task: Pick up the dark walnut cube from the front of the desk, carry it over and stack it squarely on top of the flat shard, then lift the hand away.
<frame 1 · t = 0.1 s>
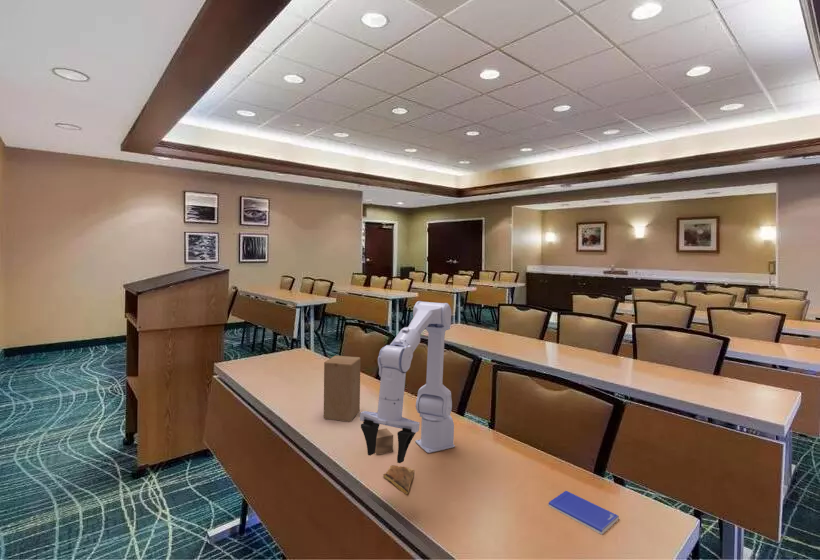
hand: (385, 458, 94), 11 cm above the table, tool pointing down, fingers open, 7 cm apart
wooden block: (342, 415, 145), on the table
walnut cube: (381, 449, 120), on the table
hard drive: (582, 515, 93), on the table
shard: (404, 482, 105), on the table
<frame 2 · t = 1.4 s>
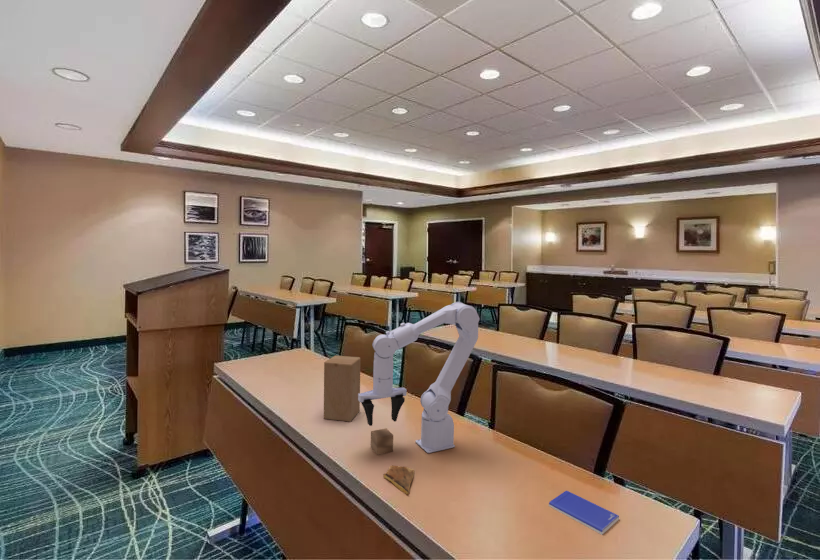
hand: (382, 422, 120), 8 cm above the table, tool pointing down, fingers open, 7 cm apart
nothing on the table moved.
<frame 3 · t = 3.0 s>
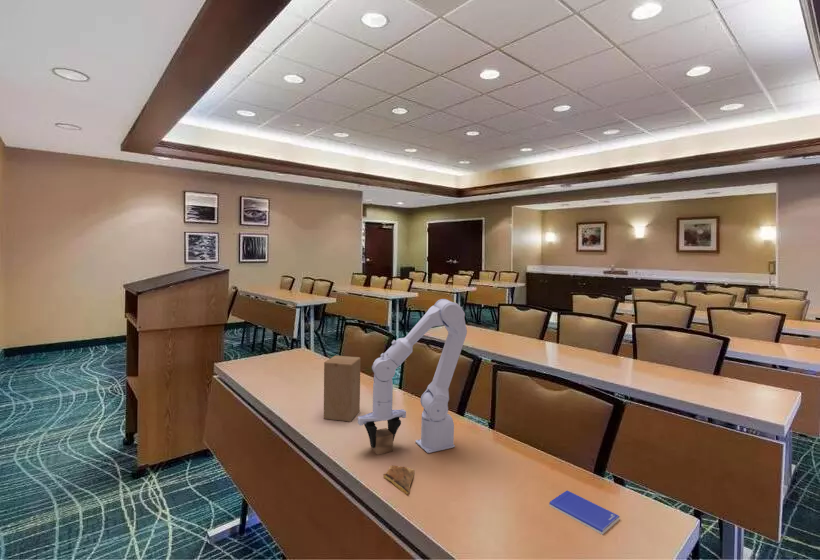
hand: (381, 444, 120), 1 cm above the table, tool pointing down, fingers closed on walnut cube, 5 cm apart
walnut cube: (381, 449, 120), on the table, touching gripper
everything else where it was.
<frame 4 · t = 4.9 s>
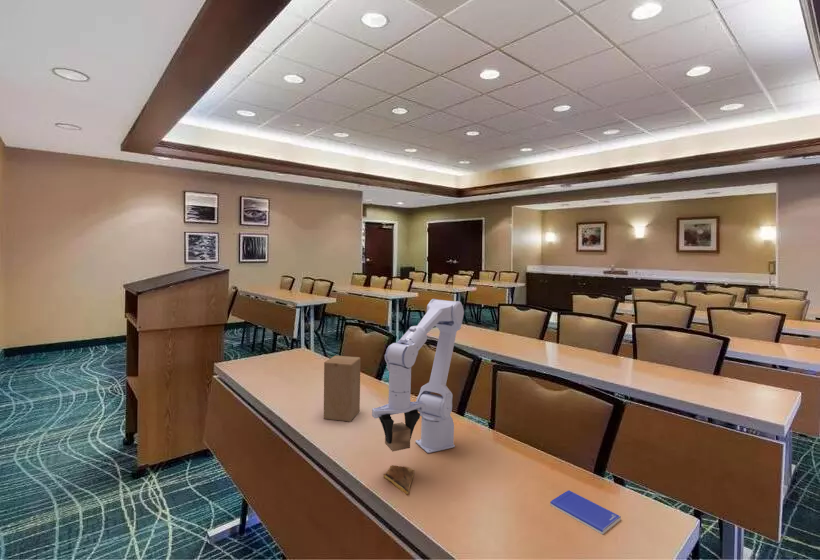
hand: (398, 440, 108), 8 cm above the table, tool pointing down, fingers closed on walnut cube, 5 cm apart
walnut cube: (397, 445, 108), point 7 cm above the table, touching gripper
everything else where it was.
when the fingers open (5 cm above the table, at t = 7.0 s): walnut cube drops 2 cm, resting on shard.
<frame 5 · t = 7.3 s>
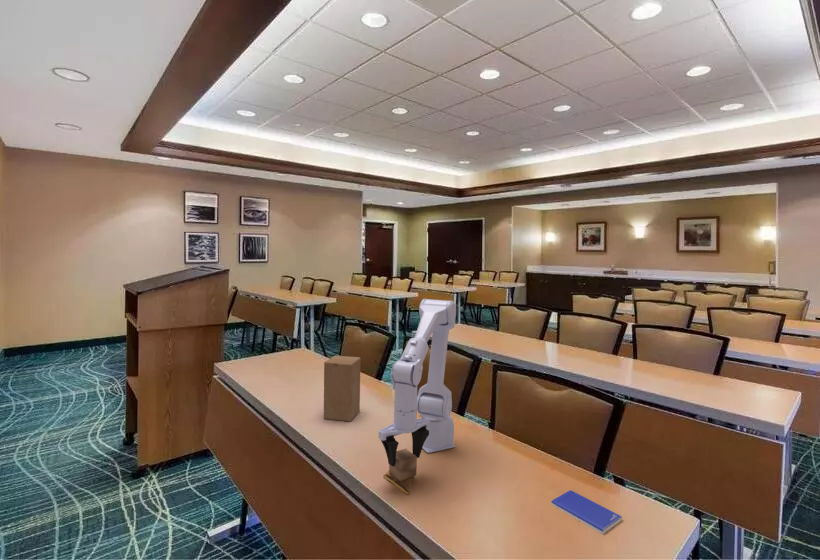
hand: (404, 460, 104), 5 cm above the table, tool pointing down, fingers open, 7 cm apart
walnut cube: (402, 473, 105), point 1 cm above the table, touching shard
shard: (405, 482, 105), on the table, touching walnut cube
everything else where it was.
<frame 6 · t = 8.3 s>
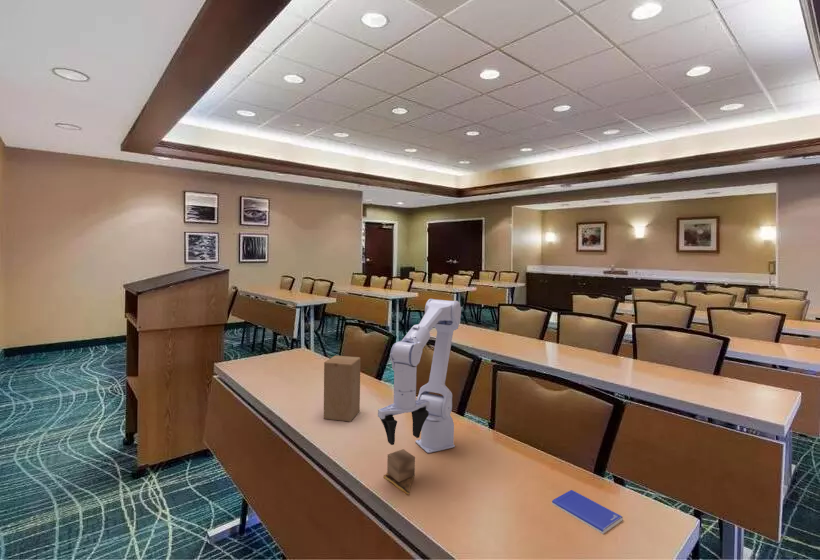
hand: (403, 439, 106), 9 cm above the table, tool pointing down, fingers open, 7 cm apart
nothing on the table moved.
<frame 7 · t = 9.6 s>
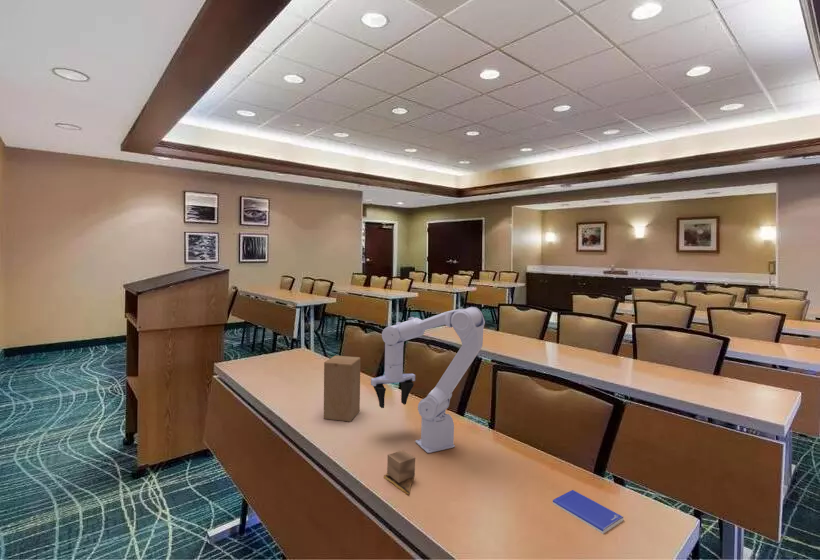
hand: (392, 405, 130), 9 cm above the table, tool pointing down, fingers open, 7 cm apart
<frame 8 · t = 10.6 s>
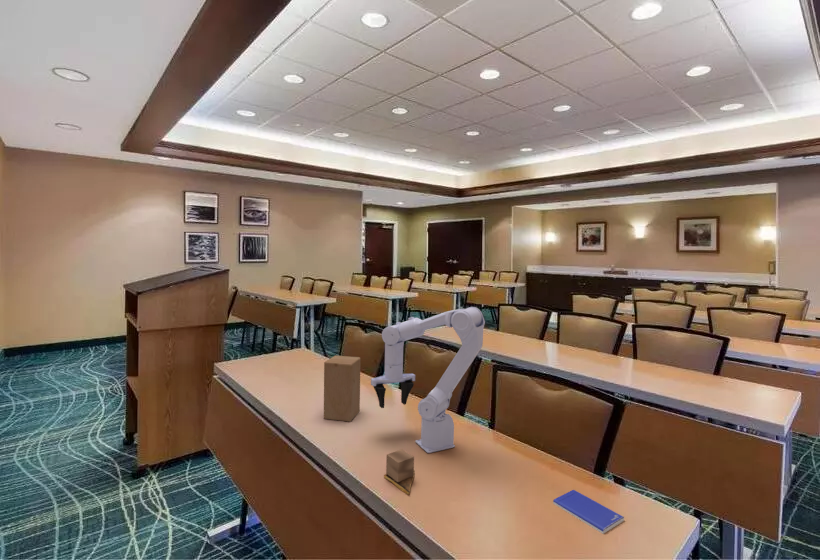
hand: (392, 405, 130), 9 cm above the table, tool pointing down, fingers open, 7 cm apart
at the end: walnut cube inside the target area on the shard (1.5 cm from its centre), point 2.1 cm above the shard's base; walnut cube tilted 1°; the gripper is holding nothing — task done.
